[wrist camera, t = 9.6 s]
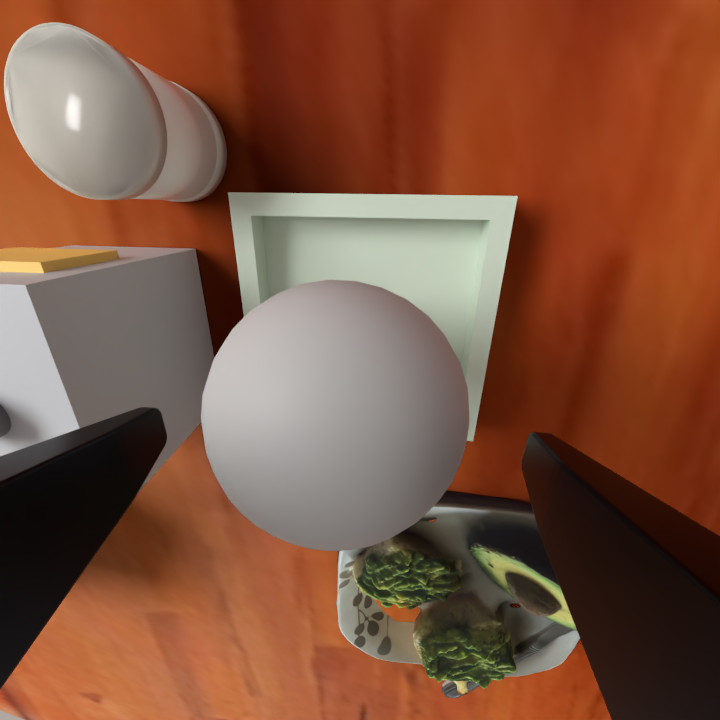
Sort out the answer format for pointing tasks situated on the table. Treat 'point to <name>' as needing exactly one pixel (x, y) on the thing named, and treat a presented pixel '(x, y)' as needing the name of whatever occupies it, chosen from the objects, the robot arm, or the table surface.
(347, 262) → the tray
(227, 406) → the lightbulb
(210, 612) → the table surface
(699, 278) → the table surface
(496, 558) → the salad plate
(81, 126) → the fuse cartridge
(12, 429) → the box
